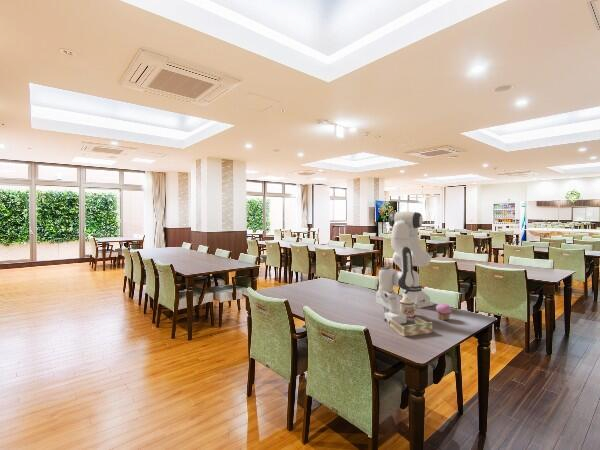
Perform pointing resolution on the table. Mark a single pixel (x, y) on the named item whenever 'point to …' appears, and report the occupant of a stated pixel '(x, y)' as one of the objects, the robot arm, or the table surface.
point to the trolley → (395, 317)
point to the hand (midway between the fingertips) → (385, 313)
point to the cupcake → (443, 311)
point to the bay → (412, 327)
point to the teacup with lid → (407, 307)
